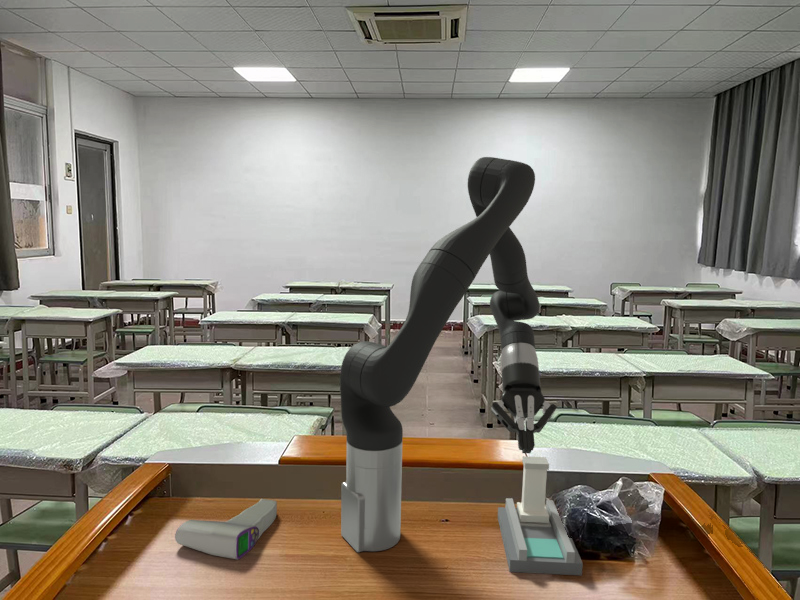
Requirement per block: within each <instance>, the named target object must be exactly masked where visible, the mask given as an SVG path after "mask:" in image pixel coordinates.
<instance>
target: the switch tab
mask: <svg viewBox="0 0 800 600" xmlns="http://www.w3.org/2000/svg"><path fill="white" fill-rule="evenodd" d="M522 465H523V470H522V471H523V473H522V489H521V490H522V491H521V502H519V501H518V502H516V508H517V511H518V515H519V518H520V522H539V523H549V514H548V512H547V509H546V491H547V475H548V473H547V472H548V471H549V470H550V469H549V468H550V463H549V460H548V459H547V457H546V456H525V455H524V456H522Z"/></svg>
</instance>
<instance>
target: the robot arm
mask: <svg viewBox="0 0 800 600" xmlns="http://www.w3.org/2000/svg"><path fill="white" fill-rule="evenodd" d="M535 183H536V173H535V172H534V169H533V168H532V167H531V166H530V165H529V164H527V163H525V162H521V161H517V160H512V159H505V158H501V157H499V158H498V157H493V156H483V157H480V158H478V159H476V161H474V163H473V164H472V166H471V168H470V169H469V172H468V177H467V192H468V197H469V200H470V203H471V207H472V209H473V211H474V214H475V218H474V219H472V220H470V221H469V222H467V223H465V224H464V225H462V226H460V227H457V228H455V230H453V231H451V232H450V233H448V234H446V235H444V236H443V237H441V238H440V239H439V240H437V241H436V242H435V243H433V245H432V247H430V249H429V250H428V252H427V254H426V255H425V256H424V257H423V259H422V261H421V263H420V264H419V265H418V266H417V269H416V270H415V272H414V274H413V277H412V279H411V283H410V284H411V285H410V295H409V296H410V297H409V306H408V312H407V316H406V318H405V320H404V322H403V325H402V326H401V327H400V329H399V330H398V331H397V334H396V335H395V336H394V338H393V339H392V340H391V342H390V343H389V344H388V346H387V345H383V344H380V343H378V342H374V341H365V340H364V341H359V342H357V343H355V344H354V345H352V346H351V347H350V348H349V349H348V350H347V352H346V353H345V355H344V357H343V360H342V363H341V367H340V375H339V386H340V387H339V390H340V391H339V392H340V411H341V414H340V415H341V420H342V424H343V427H344V429H345V431H346V432H345V433H346V456H345V458H346V459H345V461H346V470H345V471H346V474H345V475H346V477H345V478H346V479H345V481H343V482H341V491H340V492H341V493H340V494H341V497H340V499H341V503H340V504H341V508H340V511H341V514H340V515H341V517H340V520H341V523H340V524H341V525H340V529H341V530H340V535H341V536H342V538H344V540H345V541H346V542H347V543H348V544H349V545H350V546H351V547H352V548H353V549H354V550H355V552H356V553H360V552H380V551H385V550H388V549H391V548H392V547H395V545H397V544H398V543H399V541H400V539H401V526H402V523H401V518H402V478H403V475H402V473H403V467H402V466H403V434H404V433H403V424H402V423H401V421H400V419H399V418H398V417H397V415H395V414H394V412H393V410H392V409H391V407H393V406H396V405H398V404H399V403H401V402H402V401H403V400H404V399H405V398H406V397H407V395H408V394H409V393H410V391H411V390H412V388H413V387H414V385H415V384H416V381H417V379H418V377H419V375H420V373H421V371H422V369H423V367H424V365H425V363H426V361H427V359H428V357H429V355H430V353H431V351H432V349H433V347H434V345H435V343H436V341H437V339H438V338H439V336H440V334H441V332H442V331H443V330H444V327H445V325H446V324H447V322H448V321H449V320H450V317H451V316H452V315H453V312H454V311H455V309H456V308H457V306H458V305H459V303H460V301H462V298H463V297H464V296H465V295H466V293H467V291H468V290H469V288H470V287H471V285H472V283H474V281H475V278H476V277H477V275H478V274H479V271H480V269H481V268H482V266H483V265H484V263H485V262H486V260H487V258H488V257H490V261H491V262H490V263H491V269H492V274H493V281H494V284H495V286H496V288H497V289H498V291H497V290H496V291H494V293H493V294H492V295H491V297H490V300H489V308H490V311H491V313H492V316H493V319H494V320H495V323H496V326H497V329H498V332H499V336H500V347H501V348H500V352H501V356H500V371H501V384H502V387H501V388H502V394H501V397H500V399H499V401H497V402H496V401H495V402H494V401H493V403H492V405H491V409H490V411H491V413H492V414H493V415H494V416H495V418H496V419H497V420H498V421H499V422H500V424H502V426H503V427H504V428H505V429H506V430H507V431H508V432H514V433H515V434H516V435H517V447H518V450H519V451H521V454H531V453H532V451H534V448H535V446H536V444H535V435H534V434H535V433H541V431H542V430H543V429H544V428H545V426H546V424H548V422H549V421H550V419H551V418H552V417H553V416H554V414H555V412H556V409H557V405H556V404H555V403H554V404H553V403H551V404H550V403H549V402H547V401H546V400H545V396H544V395H543V393H542V387H541V379H540V378H541V377H540V369H539V367H540V366H539V360H538V359H539V358H538V355H537V352H536V344H535V334H534V329H533V327H532V326H531V325H530V324H528V323H526V322H523V321H526V320H531V319H534V318H535V317H536V316H537V315H538V313H539V311H540V300H539V298H538V295H537V293H536V291H535V289H534V287H533V286H532V283H531V282H530V279H529V275H528V269H527V258H526V255H525V254H526V253H525V250H524V248H523V246H522V243H521V242H520V240H519V239H518V238H517V236H516V234H515V233H514V231H513V230H512V229H511V225H512V224H513V223H514V221H516V219H517V218H518V216H519V215H520V214H521V212H522V211H523V210H524V208H525V207H526V205H527V203H528V202H529V200H530V198H531V196H532V194H533V191H534V188H535V185H536V184H535ZM541 408H542V415H541V417H540V418H539V419H538V421H537V422H536V423H535V422H534V421H535V416H536V415H537V414H538V412H539V411H540V410H541ZM505 409H506V410H507V411H508V413H509V414H510V415H511V416H512V417H513V419H514V420H513V419H512V417H510V415H509V414H508V413H507V412H506V411H505Z"/></svg>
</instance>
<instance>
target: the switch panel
mask: <svg viewBox="0 0 800 600" xmlns="http://www.w3.org/2000/svg"><path fill="white" fill-rule="evenodd" d="M545 507H546V509H547V512H548V514H549V523H539V522H520V518H519V515H518V511H517V507H516V506H515V502H514V499H513V497H511V498H510V497H509V498H507V497H506V498H505V506H504V507H502V506H501V507H500V506H498V507H497V520H498V521H497V522H498V524H499V530H500V534H501V538H502V544H503V548H504V553H505V557H506V562H507V566H508V570H509V571H508V572H509V573H527V574H542V575H543V574H547V575H567V576H583V568H584V567H583V565H584V564H583V561H582V559H581V556H580V554H579V551H578V549H577V548H576V544H575V542H574V540H573V537H572V538H569V537H568V535H567V532H566V530H565V528H564V525H563V523H562V521H561V518H560V516H559V513H558V511H557V510H558V509H557V506H556V504H555V502H554V500H552V499H545Z"/></svg>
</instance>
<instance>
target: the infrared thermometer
mask: <svg viewBox="0 0 800 600" xmlns="http://www.w3.org/2000/svg"><path fill="white" fill-rule="evenodd" d="M277 505H278V502H277V500H274V499H265V498H260V500H259V501H258V502H256V503H255V504H254V505H251V506H250V507H248V508H246V509H243V511H242V512H241V513H239V514H238V515H236V516H234V517H232V518H231V519H228V520H227V521H217V520H216V521H215V520H199V519H198V520H196V519H189V520H186V521H184V522H182V524H180V526H179V527H177V530H176V531H175V534H174V535H175V536H174V539H175V542H176V543H177V544H178V545H180V546H184V547H186V548H190V549H192V550H196V551H199V552H202V553H204V554H208V555H211V556H215V557H222V558H227V559H233V560H240V559H241V558H243V557H245V555H246V554H248V553H249V552H250V551H251V550H252V549H253V548H254V547H255V545H256V543H257V541H258V540H260V537H261V536H262V534H263V533H264V532H265V531H266V530H267V529H268V528H269V527H270V526H271V525H272V524H273V523H274V521H275V520H276V518H277V512H278V511H277V509H278V506H277Z"/></svg>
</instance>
